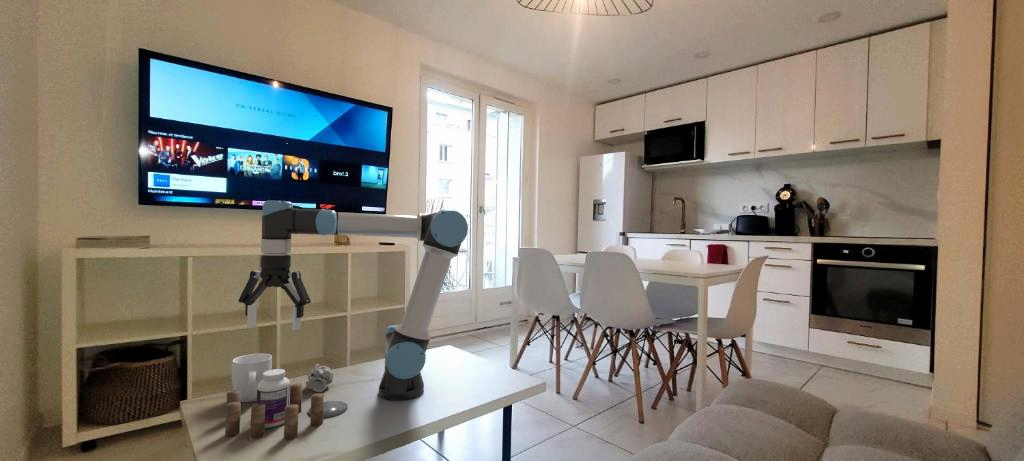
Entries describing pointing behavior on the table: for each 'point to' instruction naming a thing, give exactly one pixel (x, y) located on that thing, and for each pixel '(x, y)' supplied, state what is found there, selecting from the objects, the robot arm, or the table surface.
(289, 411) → the dowel posts
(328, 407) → the coaster
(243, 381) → the mug
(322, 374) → the figurine
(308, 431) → the table surface
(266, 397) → the pill bottle
